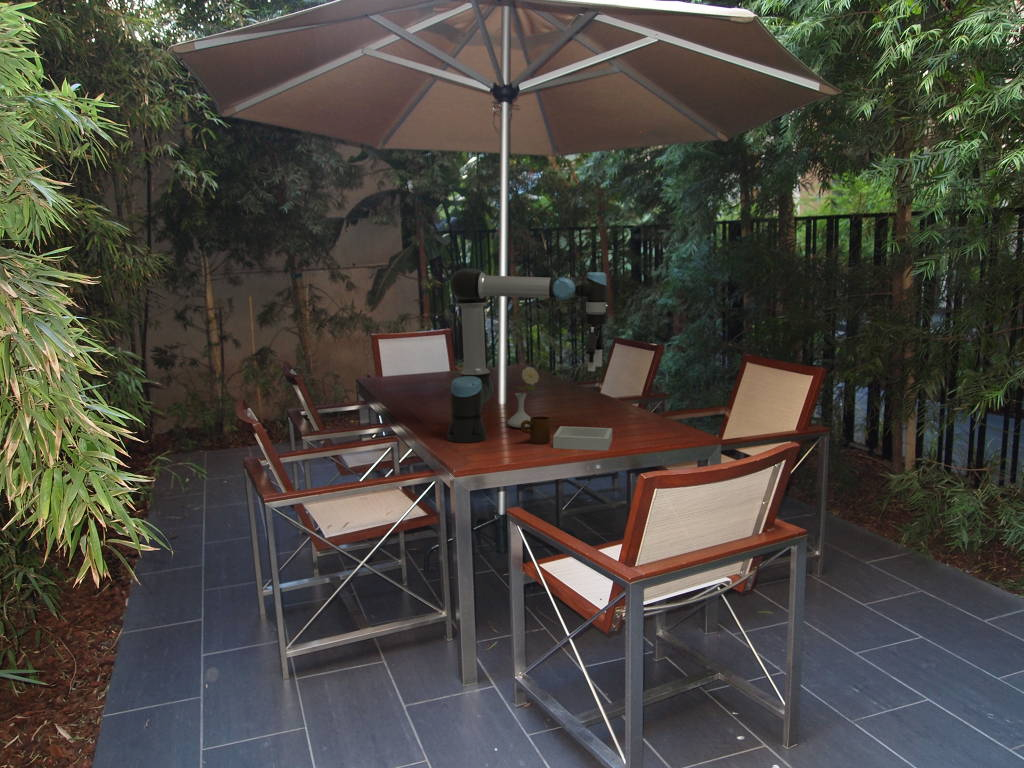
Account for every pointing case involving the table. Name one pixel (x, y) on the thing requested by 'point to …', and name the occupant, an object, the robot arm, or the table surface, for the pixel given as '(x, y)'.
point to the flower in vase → (530, 378)
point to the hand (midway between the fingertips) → (594, 368)
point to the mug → (538, 429)
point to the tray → (582, 438)
